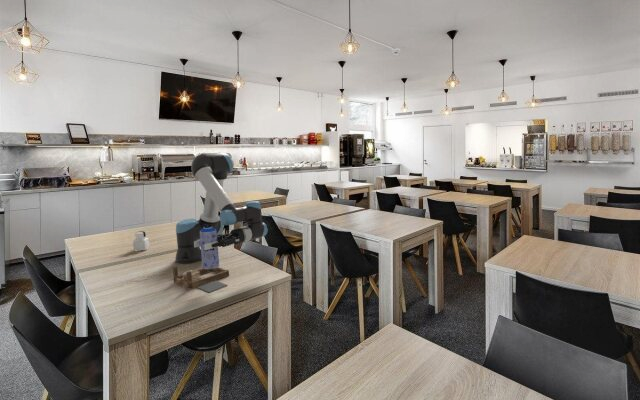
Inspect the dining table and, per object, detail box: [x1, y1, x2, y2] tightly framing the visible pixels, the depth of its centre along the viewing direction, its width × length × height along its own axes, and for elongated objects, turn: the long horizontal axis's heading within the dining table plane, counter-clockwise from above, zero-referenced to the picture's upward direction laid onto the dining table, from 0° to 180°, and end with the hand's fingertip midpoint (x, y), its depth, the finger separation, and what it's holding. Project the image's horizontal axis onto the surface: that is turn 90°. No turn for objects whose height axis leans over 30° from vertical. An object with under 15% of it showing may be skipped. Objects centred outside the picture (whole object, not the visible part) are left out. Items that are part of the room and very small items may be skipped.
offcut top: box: [182, 269, 201, 280], centre depth 168 cm, size 6×5×2 cm
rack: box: [172, 265, 230, 290], centre depth 172 cm, size 14×22×8 cm, turn 141°
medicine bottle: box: [132, 230, 150, 252], centre depth 226 cm, size 7×7×12 cm
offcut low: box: [182, 276, 202, 282], centre depth 168 cm, size 7×6×3 cm
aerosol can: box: [200, 224, 221, 269], centre depth 159 cm, size 8×8×20 cm
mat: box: [196, 280, 228, 294], centre depth 162 cm, size 10×10×1 cm
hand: (199, 245), depth 155 cm, fingers closed on aerosol can, 7 cm apart
